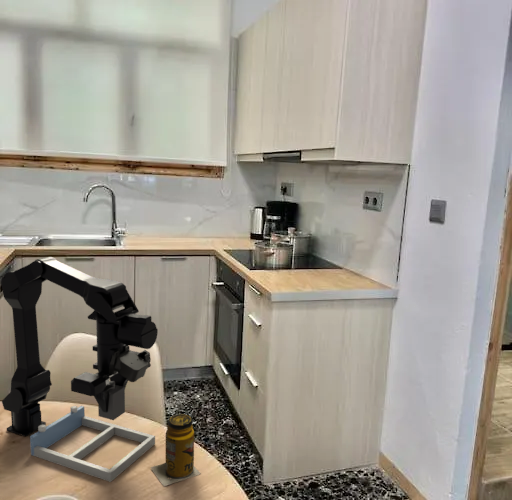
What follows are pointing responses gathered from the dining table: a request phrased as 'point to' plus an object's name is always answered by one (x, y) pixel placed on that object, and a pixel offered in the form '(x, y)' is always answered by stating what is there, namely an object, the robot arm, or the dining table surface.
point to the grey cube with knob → (114, 402)
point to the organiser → (73, 461)
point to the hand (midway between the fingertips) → (111, 407)
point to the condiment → (178, 451)
